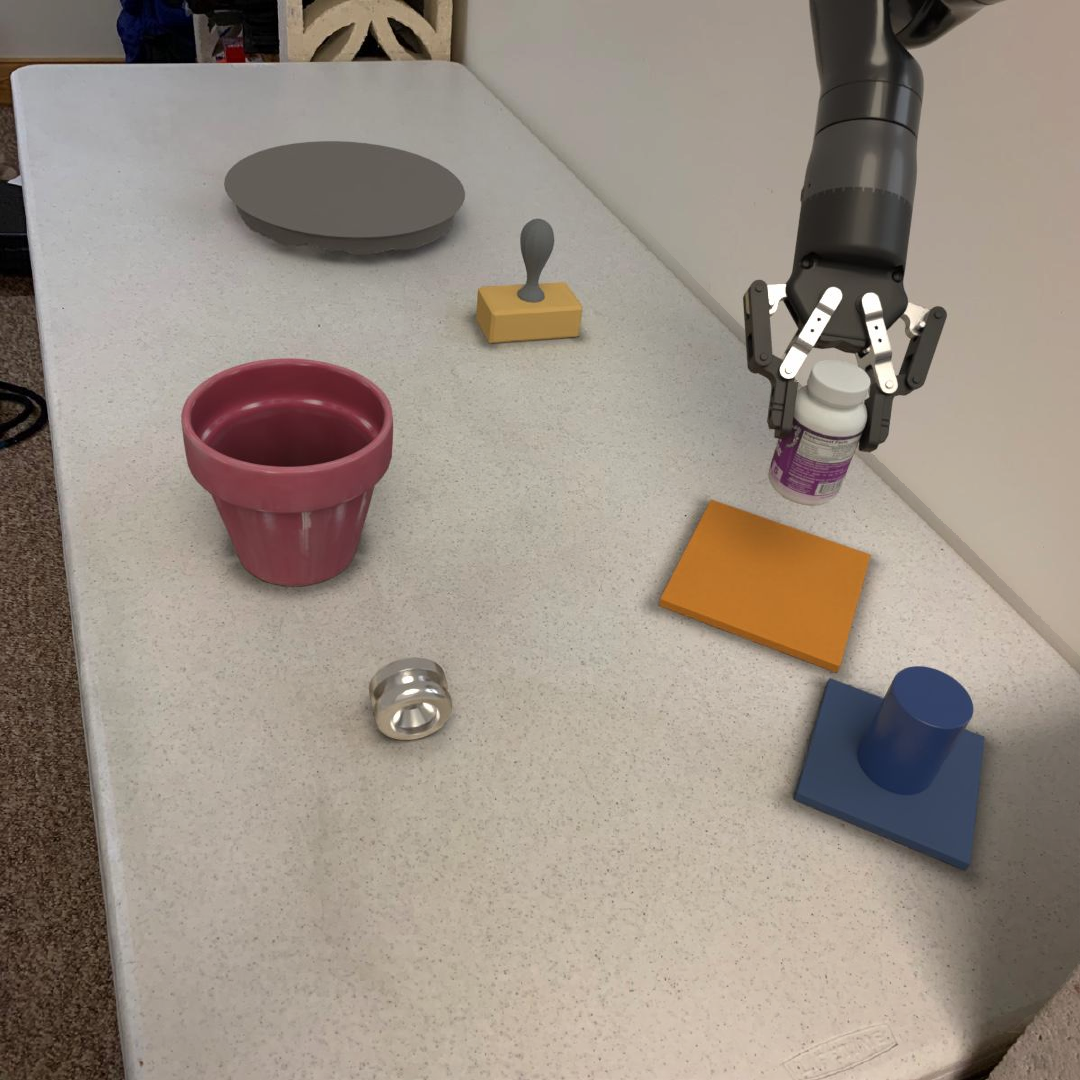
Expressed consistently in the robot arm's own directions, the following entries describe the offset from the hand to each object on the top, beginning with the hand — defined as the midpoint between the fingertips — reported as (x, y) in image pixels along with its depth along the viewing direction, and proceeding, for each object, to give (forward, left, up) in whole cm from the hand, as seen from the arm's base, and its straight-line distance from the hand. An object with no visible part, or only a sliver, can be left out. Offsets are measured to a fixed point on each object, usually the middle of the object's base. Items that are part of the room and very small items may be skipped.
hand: (825, 442), depth 68 cm
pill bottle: (+1, -2, -5) cm, 6 cm away
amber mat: (+1, -2, -15) cm, 15 cm away
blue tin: (-11, +12, -14) cm, 22 cm away
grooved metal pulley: (+19, +24, -15) cm, 34 cm away
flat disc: (+63, -39, -15) cm, 75 cm away
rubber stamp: (+34, -28, -15) cm, 46 cm away
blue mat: (-11, +12, -15) cm, 23 cm away
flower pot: (+35, +13, -15) cm, 40 cm away
